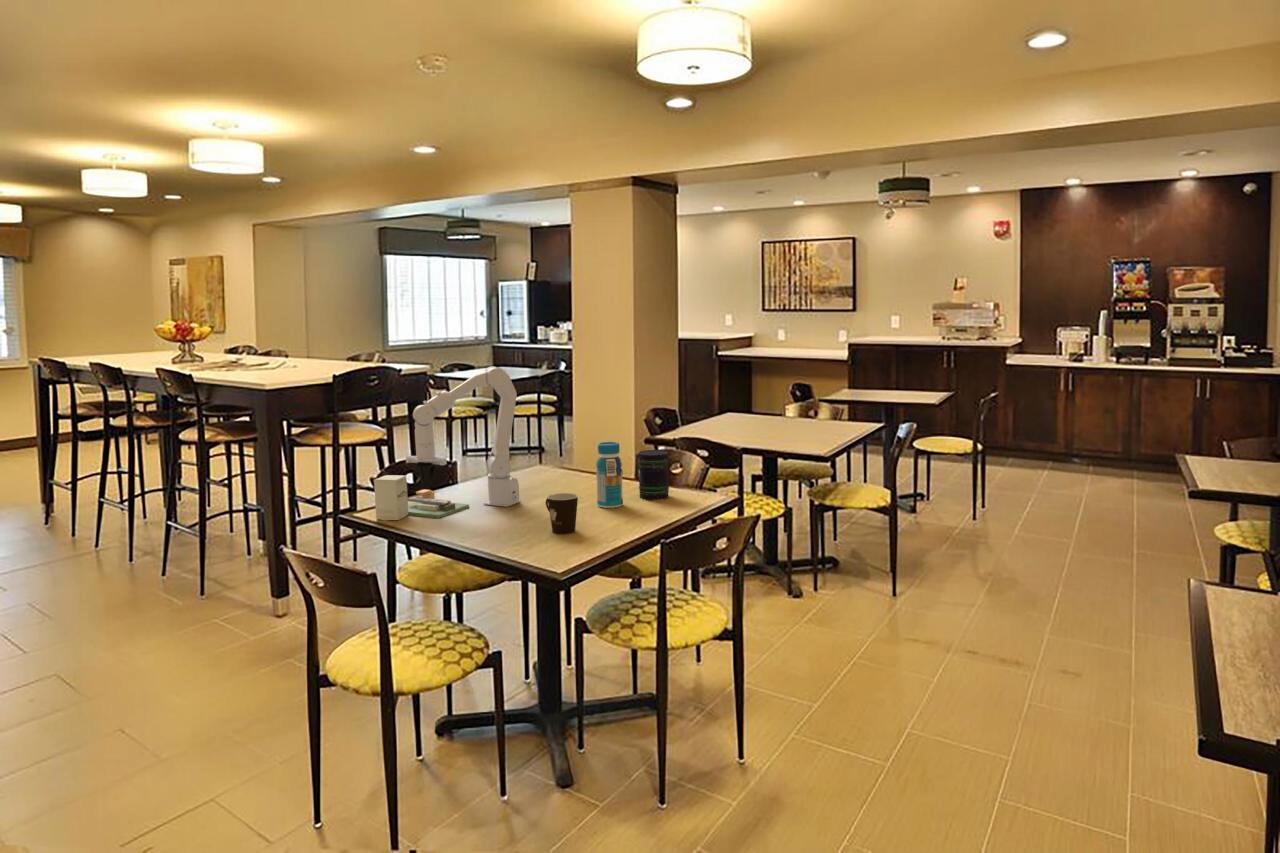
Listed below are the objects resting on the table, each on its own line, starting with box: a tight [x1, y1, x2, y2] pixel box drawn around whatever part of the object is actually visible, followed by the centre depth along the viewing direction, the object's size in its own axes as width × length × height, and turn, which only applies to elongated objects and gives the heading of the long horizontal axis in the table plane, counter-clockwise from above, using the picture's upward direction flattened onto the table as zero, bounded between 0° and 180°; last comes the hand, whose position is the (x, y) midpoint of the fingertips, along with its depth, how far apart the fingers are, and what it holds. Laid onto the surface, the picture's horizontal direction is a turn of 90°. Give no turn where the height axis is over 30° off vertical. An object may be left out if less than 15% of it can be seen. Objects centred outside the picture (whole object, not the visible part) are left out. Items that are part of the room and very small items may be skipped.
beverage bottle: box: [595, 441, 624, 509], centre depth 268 cm, size 8×8×20 cm
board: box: [408, 502, 470, 519], centre depth 268 cm, size 18×15×2 cm
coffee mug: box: [545, 492, 579, 535], centre depth 241 cm, size 12×9×10 cm
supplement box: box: [373, 474, 409, 521], centre depth 259 cm, size 7×7×13 cm
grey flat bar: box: [408, 496, 452, 505], centre depth 268 cm, size 14×4×1 cm, turn 64°
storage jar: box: [638, 449, 670, 501], centre depth 280 cm, size 10×10×15 cm
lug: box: [415, 489, 436, 499], centre depth 274 cm, size 3×5×4 cm, turn 154°
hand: (427, 486), depth 268 cm, fingers closed
